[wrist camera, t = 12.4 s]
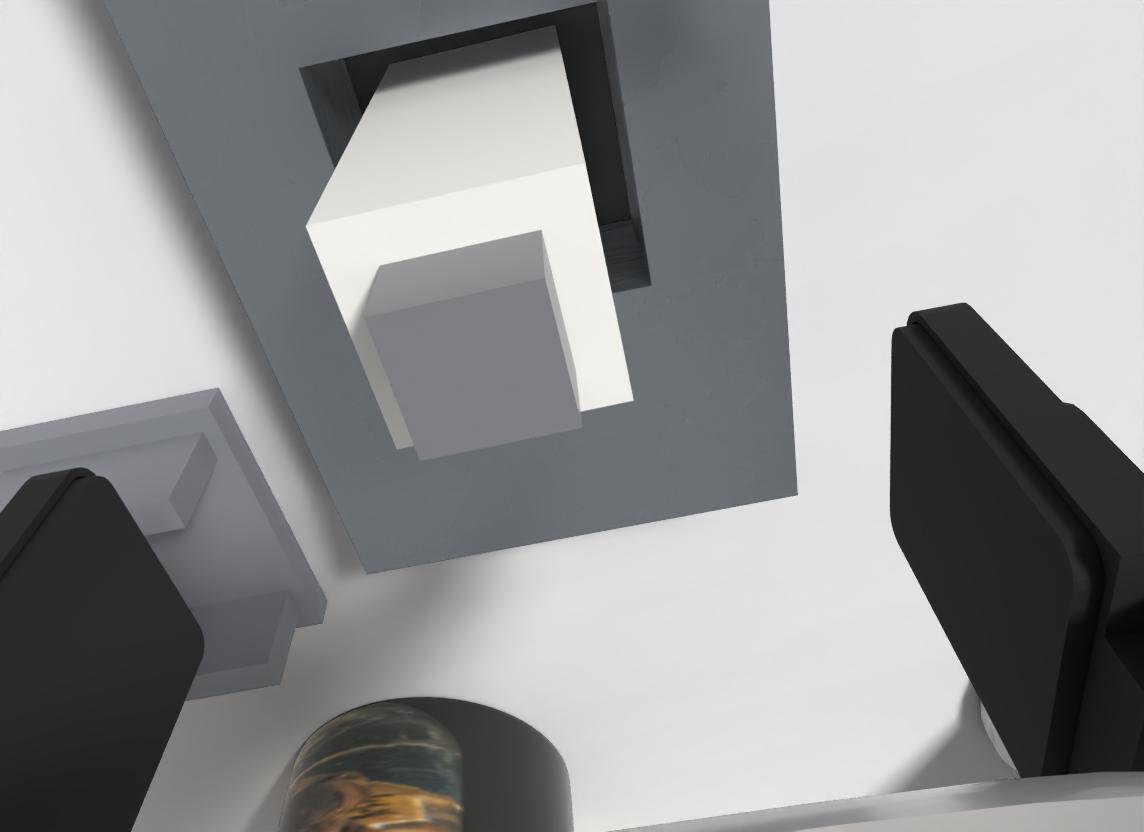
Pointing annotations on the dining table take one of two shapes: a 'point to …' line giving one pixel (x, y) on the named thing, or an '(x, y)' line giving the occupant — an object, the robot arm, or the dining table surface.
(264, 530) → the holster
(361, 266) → the plug
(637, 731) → the dining table surface
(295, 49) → the port block
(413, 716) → the jar
